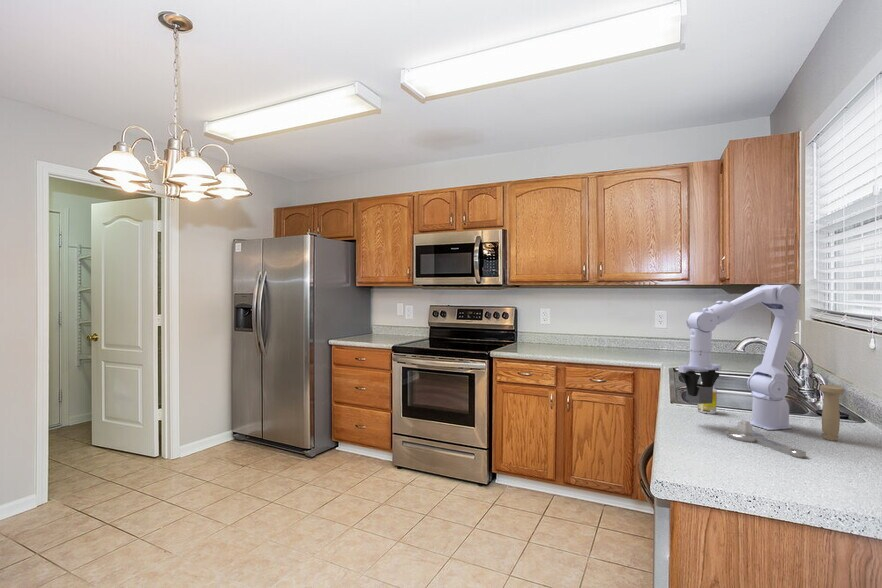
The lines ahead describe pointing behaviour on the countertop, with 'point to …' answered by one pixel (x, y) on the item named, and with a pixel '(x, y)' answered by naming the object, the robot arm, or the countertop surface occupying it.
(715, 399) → the supplement bottle
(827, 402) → the handle
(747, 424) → the ratchet
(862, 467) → the countertop surface
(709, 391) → the square metal tube
